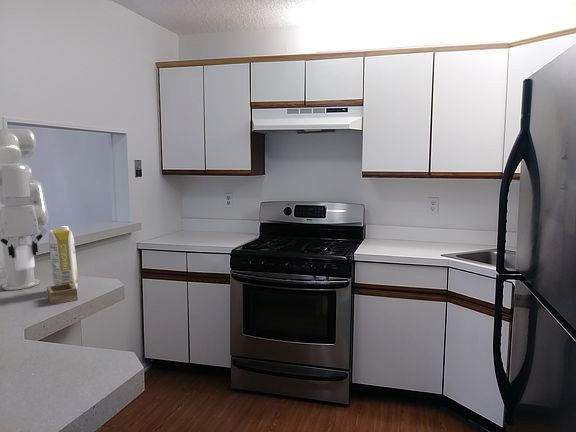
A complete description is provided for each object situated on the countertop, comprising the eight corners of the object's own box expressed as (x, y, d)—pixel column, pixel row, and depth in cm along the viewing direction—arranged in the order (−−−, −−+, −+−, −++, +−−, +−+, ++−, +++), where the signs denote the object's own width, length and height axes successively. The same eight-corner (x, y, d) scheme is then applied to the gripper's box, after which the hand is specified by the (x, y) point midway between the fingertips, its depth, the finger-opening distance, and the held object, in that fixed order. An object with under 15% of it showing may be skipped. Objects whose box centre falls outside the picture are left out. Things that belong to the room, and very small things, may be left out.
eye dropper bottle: (33, 269, 153) (30, 233, 152) (14, 271, 151) (10, 235, 150) (35, 266, 157) (32, 231, 156) (17, 268, 155) (13, 233, 154)
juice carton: (80, 291, 169) (73, 226, 166) (56, 295, 165) (49, 229, 162) (76, 285, 177) (70, 224, 174) (53, 289, 173) (46, 226, 170)
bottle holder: (47, 298, 162) (46, 286, 161) (72, 293, 166) (71, 282, 166) (51, 304, 154) (50, 293, 153) (77, 299, 158) (76, 288, 158)
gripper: (45, 199, 159) (50, 250, 162) (-14, 203, 149) (-7, 258, 152) (48, 200, 153) (54, 254, 155) (-13, 205, 143) (-6, 262, 146)
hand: (23, 255), depth 154 cm, fingers closed on eye dropper bottle, 5 cm apart
